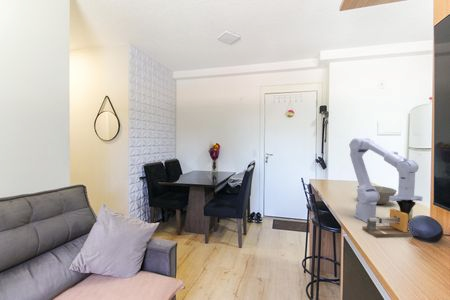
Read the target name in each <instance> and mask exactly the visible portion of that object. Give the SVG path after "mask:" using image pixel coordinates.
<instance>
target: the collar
mask: <svg viewBox="0 0 450 300" xmlns="http://www.w3.org/2000/svg"><path fill="white" fill-rule="evenodd" d="M389 217H399V218H400V223H388V224H389V225H388V226H392V227H394V228H396V229H399V230H401V231H403V232H407V227H408V214H406V213H404V212H401V211H400V210H397V209H395V208H389Z"/></svg>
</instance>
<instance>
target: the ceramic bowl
mask: <svg viewBox="0 0 450 300" xmlns="http://www.w3.org/2000/svg"><path fill="white" fill-rule="evenodd" d="M373 186H374V187H375V188H376V191H377V192H378V193H379V195H380V199H379V201H377V204H376V205H384V204H386V203H388V202H390V200H389V196H395V194H396V193H397V192H398V191H397V190H396V189H395V188H391V187H386V186H382V185H381V186H379V185H378V186H377V185H373ZM358 188H359V185H357V189H358Z"/></svg>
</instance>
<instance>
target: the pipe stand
mask: <svg viewBox="0 0 450 300" xmlns="http://www.w3.org/2000/svg"><path fill="white" fill-rule="evenodd" d="M411 219H412V220H413V217H412V218H410V217H408V223H409V221H410V220H411ZM387 223H388V224H389V223H400V218H399V217H390V216H388V217H379V216H377V217H376V218H368V219H367V222H366V226H365V225H363V226H362V228H361V229H362V231H364V232H366V233H368V234H370V235H371V236H373V237H374V238H376V239H378V238H380V239H381V238H409V237H410V238H412V237H413V236H412V234H411V233H410V232H409V230H408V227H407V232H403V231H401V230H399V229H396V228H394V227H392V226H390V225H377V224H387Z"/></svg>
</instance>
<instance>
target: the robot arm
mask: <svg viewBox="0 0 450 300" xmlns="http://www.w3.org/2000/svg"><path fill="white" fill-rule="evenodd" d="M348 145H349V149H350V151H349V153H350V154H349V156H350V160H351V164H352V166H353V169H354V173H355V175H356V179H357V182H358V186H359V188H358V187H357V188H356V192H357V195H356V197H357V200H358V201H357V203H356V204H355V214H354V215H353V216H354V217H355V218H357V219H359V220H361V221H362V222H365V223H367V219H368V218H376V216H377V205H378V204H377V201H379V199H380V195H379V193H378V192H377V191H376V188H375V187H374V186H375V185H372V183H371V179H370V177H369V174H368V171H367V168H366V164H365V161H364V158H363V156H364V154H366V153H367V152H369V151H372V152H373V153H375V154H377V155H379V156H381V157H382V158H383V160H384V162H386V163H388V165H389V164H390V165H391V166H393V167H394V168H396V171H397V172H398V188H397V189H398V191H397V192H398V193H397V194H396V195H394V196H389V202H391V201H392V202H396V203H397V204H398V207H399V211H400V210H401V212H404V213H406V214H408V216H409V213H410V211H411V209H412V208H413V209H414V207H415V205H416V201H418V202H423V196H422V195H415V188H416V187H415V185H416V184H415V183H416V172H418V171H419V165H418V164H419V163H417V162H416V161H415V160H408V158H407V157H403V156H402V155H400V154H399V152H397V151H388V150H387V149H385V148H383V147H382V146H380V145H379V144H378V143H376V142H375V141H374V140H371V139H370V138H357V137H355V138H353V139H352V140H351V141H350V143H349V144H348Z"/></svg>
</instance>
